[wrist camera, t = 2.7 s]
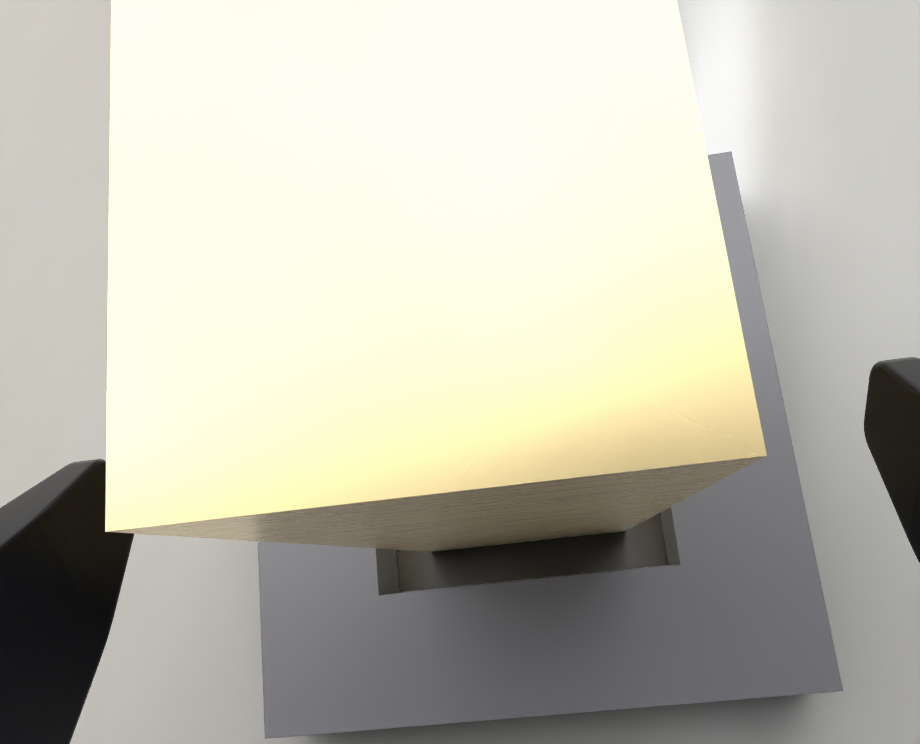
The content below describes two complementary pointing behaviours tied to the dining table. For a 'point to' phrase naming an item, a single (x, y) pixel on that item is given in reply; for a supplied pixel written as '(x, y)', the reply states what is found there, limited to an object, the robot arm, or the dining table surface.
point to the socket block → (569, 601)
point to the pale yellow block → (413, 273)
